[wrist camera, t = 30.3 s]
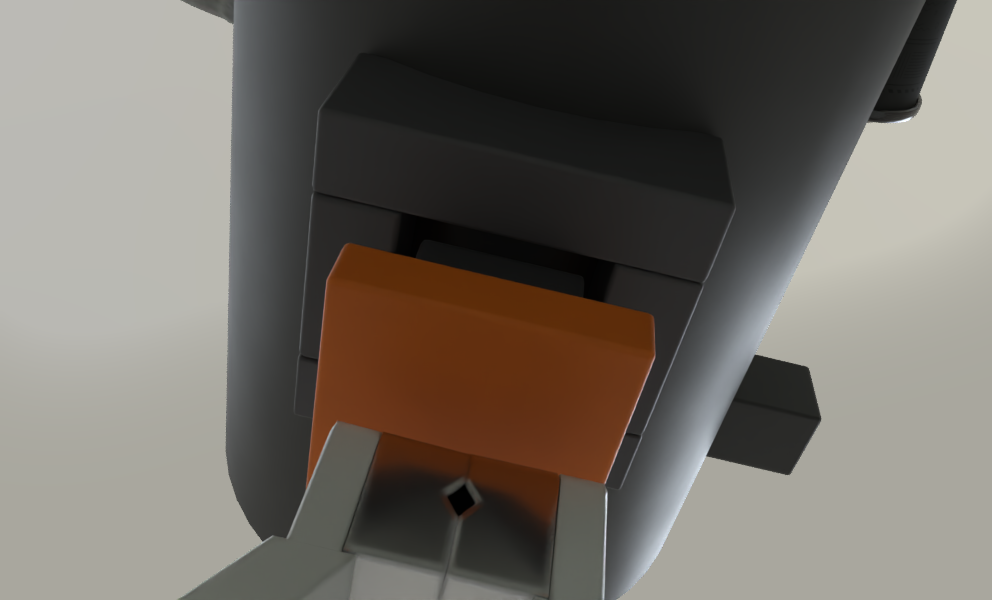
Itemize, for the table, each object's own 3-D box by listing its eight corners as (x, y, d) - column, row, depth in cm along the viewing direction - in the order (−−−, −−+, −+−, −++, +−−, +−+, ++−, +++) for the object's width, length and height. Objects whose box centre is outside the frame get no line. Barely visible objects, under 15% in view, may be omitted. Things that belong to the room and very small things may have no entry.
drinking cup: (923, -278, 37) (750, 151, 48) (851, -298, 32) (676, 187, 43) (1117, -233, 33) (879, 217, 45) (1071, -247, 28) (816, 265, 40)
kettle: (-150, -606, 7) (64, 652, 19) (1599, -179, 8) (769, 815, 19) (367, -425, 22) (312, 224, 33) (969, -279, 22) (711, 318, 33)
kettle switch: (325, 278, 9) (302, 501, 11) (658, 355, 9) (574, 564, 12) (376, 176, 11) (349, 384, 13) (654, 242, 11) (583, 439, 13)
